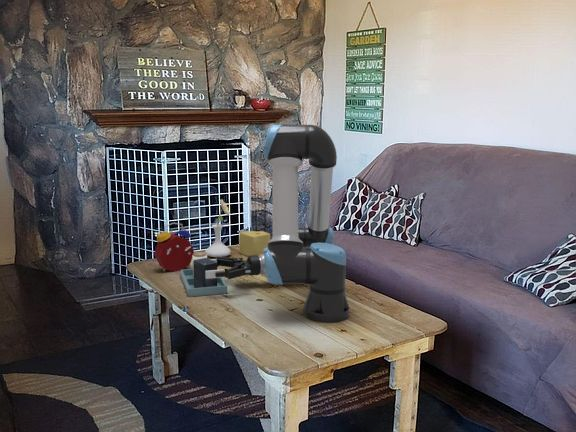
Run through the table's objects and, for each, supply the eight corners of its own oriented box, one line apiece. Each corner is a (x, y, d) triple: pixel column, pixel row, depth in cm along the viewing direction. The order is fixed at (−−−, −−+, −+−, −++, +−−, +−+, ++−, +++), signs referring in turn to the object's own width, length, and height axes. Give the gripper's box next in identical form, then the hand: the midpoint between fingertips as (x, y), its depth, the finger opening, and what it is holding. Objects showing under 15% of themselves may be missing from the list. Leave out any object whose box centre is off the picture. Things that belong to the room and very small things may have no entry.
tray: (227, 294, 211) (227, 286, 211) (188, 297, 207) (188, 289, 207) (216, 274, 234) (215, 267, 233) (180, 276, 230) (180, 269, 229)
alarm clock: (188, 265, 244) (187, 219, 240) (197, 271, 237) (196, 223, 233) (154, 271, 236) (152, 223, 232) (162, 277, 229) (160, 227, 225)
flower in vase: (222, 260, 252) (221, 203, 247) (200, 257, 257) (199, 201, 252) (237, 253, 264) (237, 198, 259) (215, 250, 269) (215, 196, 264)
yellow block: (257, 250, 271) (257, 228, 269) (271, 255, 263) (271, 233, 260) (238, 253, 264) (238, 232, 262) (252, 259, 256) (252, 236, 254)
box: (217, 289, 214) (217, 262, 211) (204, 293, 210) (203, 264, 208) (206, 284, 220) (206, 257, 217) (193, 287, 216) (192, 259, 214)
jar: (208, 279, 225) (208, 254, 223) (193, 280, 224) (193, 255, 222) (206, 274, 231) (205, 250, 229) (191, 276, 229) (191, 251, 227)
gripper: (267, 284, 208) (208, 290, 202) (250, 265, 231) (197, 269, 225) (268, 264, 207) (208, 269, 200) (250, 246, 230) (196, 250, 223)
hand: (202, 269), depth 213 cm, fingers open, 13 cm apart
